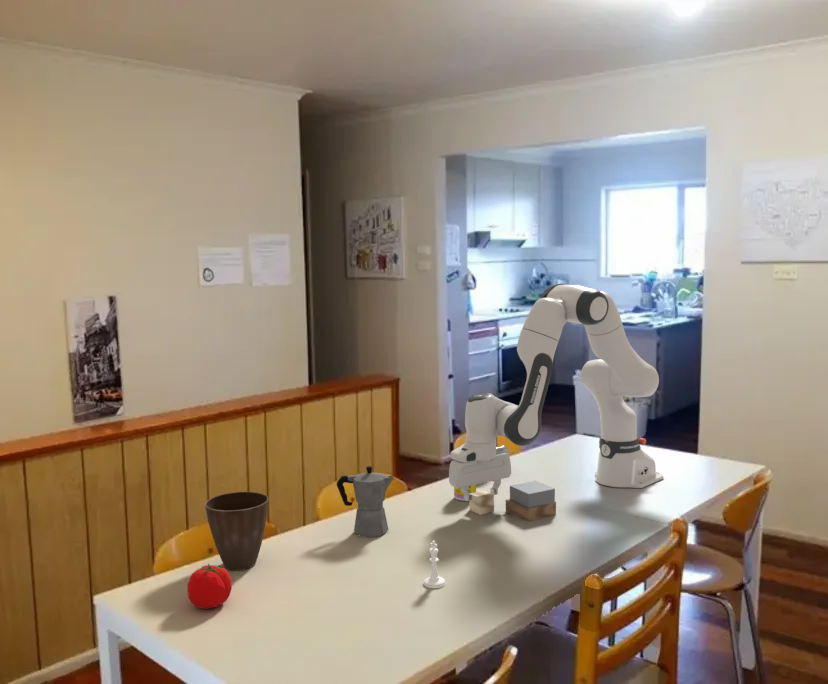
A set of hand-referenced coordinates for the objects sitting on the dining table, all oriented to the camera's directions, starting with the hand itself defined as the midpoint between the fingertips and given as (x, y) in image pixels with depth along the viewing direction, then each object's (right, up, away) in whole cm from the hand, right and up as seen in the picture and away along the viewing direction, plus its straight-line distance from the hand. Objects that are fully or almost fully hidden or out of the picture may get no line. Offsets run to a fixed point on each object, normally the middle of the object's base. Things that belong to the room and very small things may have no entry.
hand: (481, 497), depth 222 cm
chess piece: (-15, -10, -48) cm, 51 cm away
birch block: (0, -4, +1) cm, 4 cm away
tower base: (+14, -4, -2) cm, 15 cm away
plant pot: (-62, -10, -34) cm, 71 cm away
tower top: (+14, 0, -3) cm, 15 cm away
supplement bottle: (-4, -3, +13) cm, 13 cm away
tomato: (-63, -12, -55) cm, 85 cm away
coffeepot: (-32, -7, -14) cm, 35 cm away
